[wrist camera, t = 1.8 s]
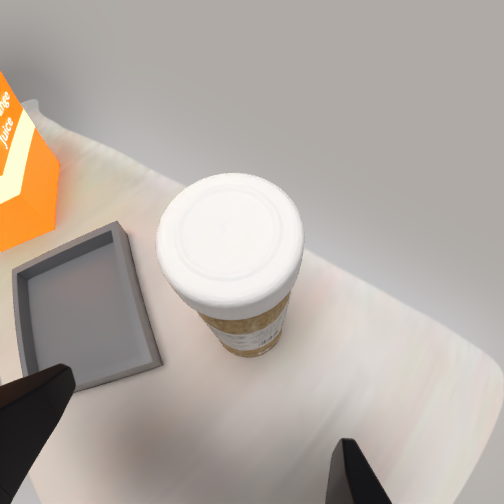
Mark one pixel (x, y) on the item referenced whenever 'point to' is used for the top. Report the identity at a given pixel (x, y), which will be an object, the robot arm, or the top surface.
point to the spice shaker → (233, 257)
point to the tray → (84, 310)
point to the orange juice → (24, 175)
